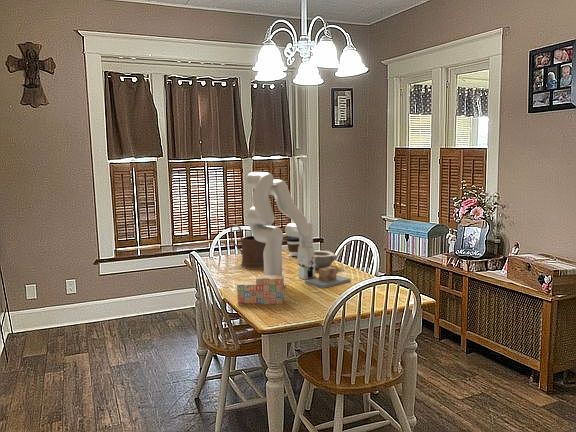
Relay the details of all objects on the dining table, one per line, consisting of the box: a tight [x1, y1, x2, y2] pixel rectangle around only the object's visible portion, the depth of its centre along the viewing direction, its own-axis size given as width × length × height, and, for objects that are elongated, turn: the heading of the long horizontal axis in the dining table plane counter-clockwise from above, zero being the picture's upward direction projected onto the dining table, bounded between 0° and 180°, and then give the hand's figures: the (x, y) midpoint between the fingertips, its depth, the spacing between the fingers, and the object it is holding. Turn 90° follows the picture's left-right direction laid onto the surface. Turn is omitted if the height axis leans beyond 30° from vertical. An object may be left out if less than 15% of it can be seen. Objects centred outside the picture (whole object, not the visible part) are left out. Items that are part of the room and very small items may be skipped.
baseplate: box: [304, 274, 352, 289], centre depth 279 cm, size 20×14×2 cm
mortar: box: [310, 250, 338, 270], centre depth 312 cm, size 17×17×9 cm
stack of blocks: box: [236, 274, 285, 305], centre depth 245 cm, size 21×6×12 cm, turn 84°
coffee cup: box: [285, 236, 299, 257], centre depth 349 cm, size 11×11×12 cm
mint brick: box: [297, 265, 316, 280], centre depth 290 cm, size 8×5×6 cm, turn 129°
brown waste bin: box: [230, 224, 266, 269], centre depth 323 cm, size 18×24×25 cm
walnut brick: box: [318, 266, 337, 282], centre depth 278 cm, size 8×5×6 cm, turn 129°
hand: (306, 276), depth 291 cm, fingers closed on mint brick, 5 cm apart
